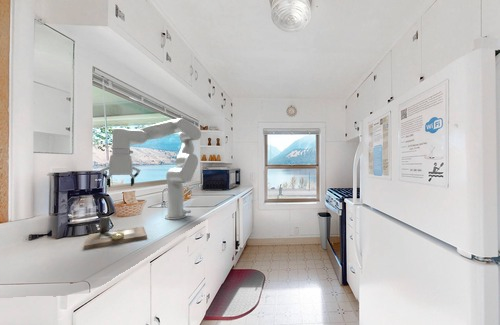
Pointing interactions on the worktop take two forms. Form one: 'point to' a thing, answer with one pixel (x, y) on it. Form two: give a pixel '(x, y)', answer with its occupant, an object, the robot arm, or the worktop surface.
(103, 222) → the tuner lever
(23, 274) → the worktop surface
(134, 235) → the board
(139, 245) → the worktop surface
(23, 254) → the worktop surface
